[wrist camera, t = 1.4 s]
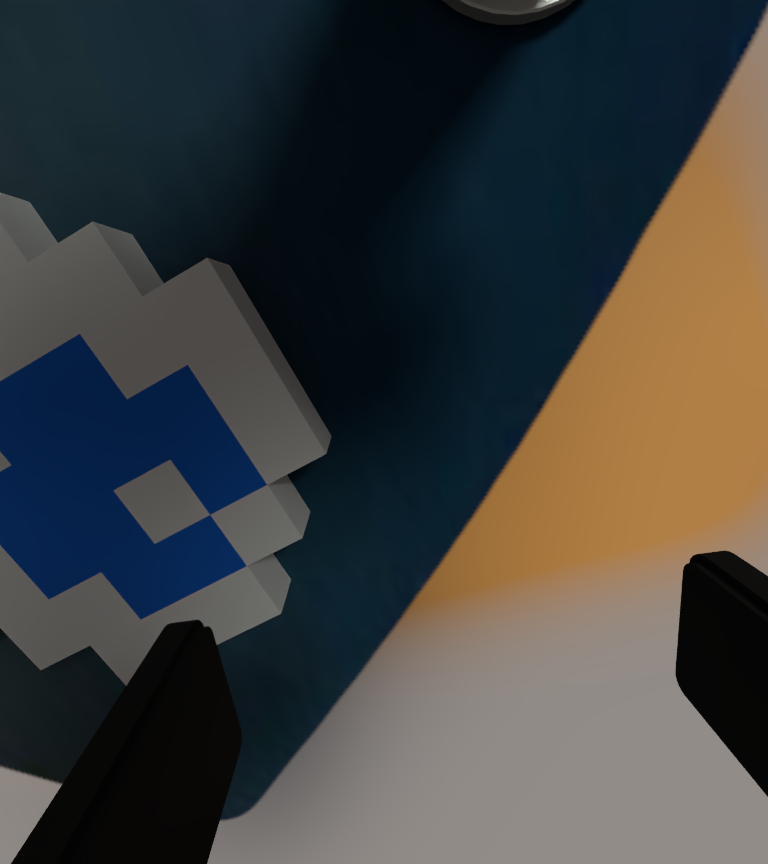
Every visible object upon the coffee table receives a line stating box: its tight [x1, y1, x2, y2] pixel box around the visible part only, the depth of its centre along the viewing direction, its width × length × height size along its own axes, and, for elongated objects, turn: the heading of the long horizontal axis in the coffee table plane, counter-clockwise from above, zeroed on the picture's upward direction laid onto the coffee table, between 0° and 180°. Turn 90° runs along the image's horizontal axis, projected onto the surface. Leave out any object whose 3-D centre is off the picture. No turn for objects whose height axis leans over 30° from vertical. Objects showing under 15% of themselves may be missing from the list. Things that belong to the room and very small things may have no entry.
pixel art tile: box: [0, 193, 332, 686], centre depth 27 cm, size 28×4×28 cm
